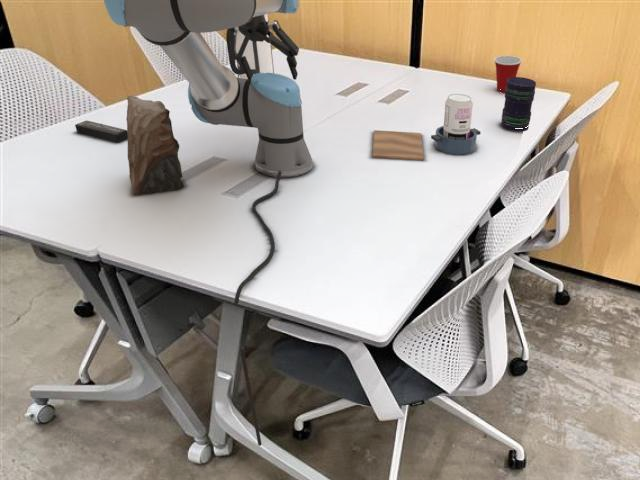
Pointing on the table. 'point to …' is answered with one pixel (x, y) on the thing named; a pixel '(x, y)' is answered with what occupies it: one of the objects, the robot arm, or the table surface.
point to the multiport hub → (102, 131)
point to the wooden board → (397, 145)
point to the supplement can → (457, 116)
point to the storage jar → (518, 103)
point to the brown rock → (151, 148)
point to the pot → (455, 142)
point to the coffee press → (252, 55)
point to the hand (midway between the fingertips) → (273, 78)
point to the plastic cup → (506, 70)
